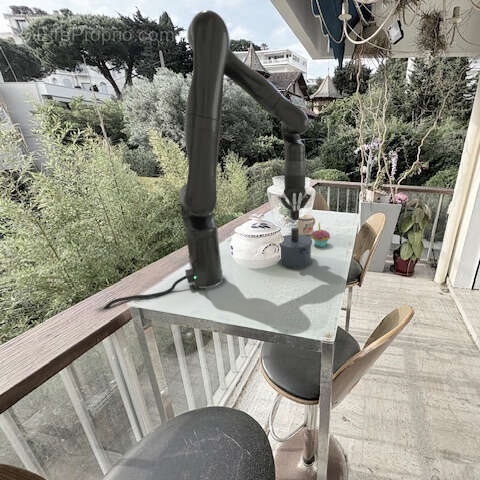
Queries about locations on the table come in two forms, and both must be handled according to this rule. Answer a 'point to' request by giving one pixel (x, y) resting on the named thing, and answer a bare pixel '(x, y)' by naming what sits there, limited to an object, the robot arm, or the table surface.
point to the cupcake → (320, 237)
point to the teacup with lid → (306, 224)
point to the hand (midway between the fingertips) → (294, 219)
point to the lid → (295, 240)
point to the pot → (295, 257)
